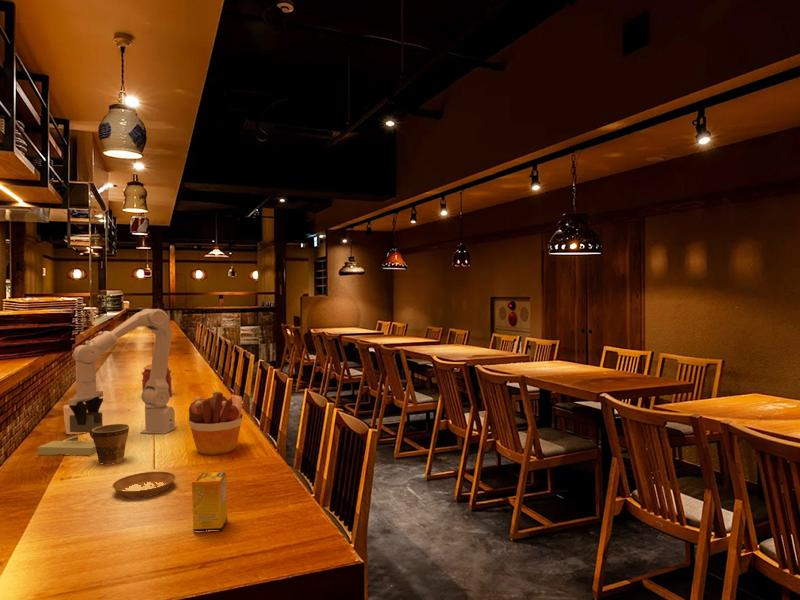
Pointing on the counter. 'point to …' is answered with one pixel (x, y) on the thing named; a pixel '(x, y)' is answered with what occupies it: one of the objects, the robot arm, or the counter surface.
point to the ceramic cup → (110, 442)
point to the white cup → (68, 419)
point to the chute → (91, 422)
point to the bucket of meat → (215, 423)
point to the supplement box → (209, 501)
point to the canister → (147, 376)
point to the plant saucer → (142, 479)
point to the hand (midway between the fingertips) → (87, 422)
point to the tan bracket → (68, 447)
